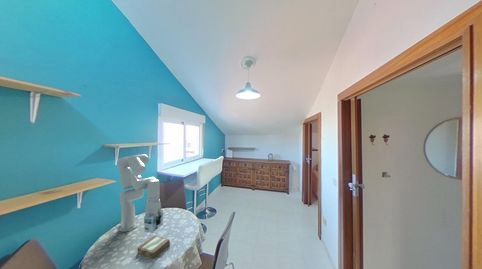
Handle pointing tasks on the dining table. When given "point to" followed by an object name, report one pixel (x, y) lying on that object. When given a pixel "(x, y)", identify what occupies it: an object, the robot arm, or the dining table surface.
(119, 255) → the dining table surface
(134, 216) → the robot arm
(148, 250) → the plinth
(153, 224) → the light bulb box
